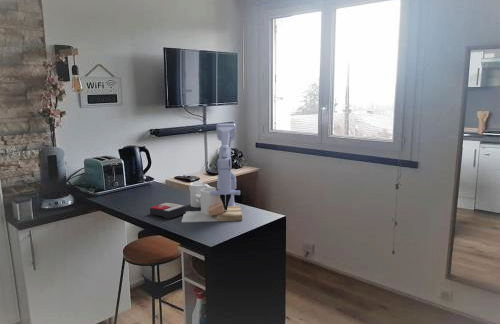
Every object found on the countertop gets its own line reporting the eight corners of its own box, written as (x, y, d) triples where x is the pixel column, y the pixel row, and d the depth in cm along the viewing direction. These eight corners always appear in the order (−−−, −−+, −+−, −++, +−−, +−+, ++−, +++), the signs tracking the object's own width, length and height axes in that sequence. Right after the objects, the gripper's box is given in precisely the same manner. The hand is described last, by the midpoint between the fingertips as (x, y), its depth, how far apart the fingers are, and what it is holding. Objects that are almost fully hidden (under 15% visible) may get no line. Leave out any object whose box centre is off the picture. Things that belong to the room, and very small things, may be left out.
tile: (210, 209, 200) (208, 205, 200) (223, 206, 201) (222, 202, 200) (209, 215, 190) (208, 210, 190) (224, 212, 191) (222, 207, 190)
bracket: (187, 205, 217) (186, 183, 215) (203, 202, 222) (202, 181, 220) (206, 217, 196) (205, 193, 194) (223, 214, 201) (223, 190, 199)
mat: (184, 212, 203) (184, 211, 203) (217, 211, 204) (217, 210, 204) (181, 222, 187) (181, 221, 187) (216, 221, 188) (216, 220, 188)
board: (217, 211, 204) (216, 206, 203) (240, 210, 205) (240, 205, 204) (216, 221, 188) (216, 216, 188) (242, 220, 189) (242, 215, 189)
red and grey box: (166, 201, 208) (185, 204, 199) (167, 209, 209) (186, 212, 200) (149, 207, 200) (168, 210, 191) (150, 215, 201) (169, 218, 191)
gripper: (209, 184, 189) (210, 212, 191) (240, 183, 190) (240, 211, 192) (210, 181, 196) (211, 208, 198) (239, 180, 197) (240, 207, 199)
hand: (225, 209), depth 196 cm, fingers closed
